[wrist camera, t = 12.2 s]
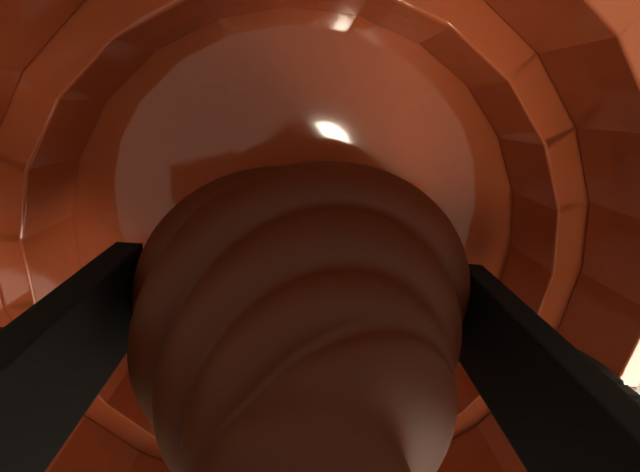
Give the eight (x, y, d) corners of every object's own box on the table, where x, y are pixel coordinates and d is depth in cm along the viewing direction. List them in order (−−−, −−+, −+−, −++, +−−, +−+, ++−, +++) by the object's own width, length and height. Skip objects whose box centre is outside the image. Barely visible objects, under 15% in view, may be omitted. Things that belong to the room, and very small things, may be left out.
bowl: (80, 425, 18) (-22, 576, 12) (-20, -93, 10) (-394, -325, 5) (474, 432, 19) (545, 567, 14) (618, -6, 12) (893, -99, 7)
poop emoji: (452, 137, 11) (1168, 296, 2) (444, 362, 14) (700, 823, 5) (121, 173, 10) (-783, 528, 2) (188, 393, 14) (-16, 920, 5)
